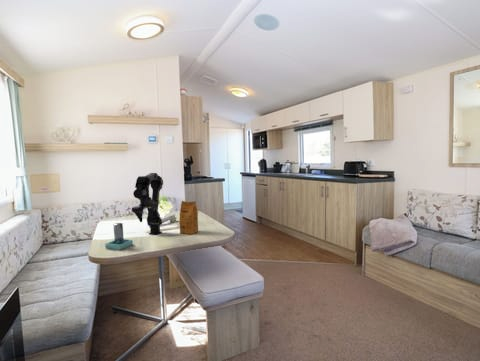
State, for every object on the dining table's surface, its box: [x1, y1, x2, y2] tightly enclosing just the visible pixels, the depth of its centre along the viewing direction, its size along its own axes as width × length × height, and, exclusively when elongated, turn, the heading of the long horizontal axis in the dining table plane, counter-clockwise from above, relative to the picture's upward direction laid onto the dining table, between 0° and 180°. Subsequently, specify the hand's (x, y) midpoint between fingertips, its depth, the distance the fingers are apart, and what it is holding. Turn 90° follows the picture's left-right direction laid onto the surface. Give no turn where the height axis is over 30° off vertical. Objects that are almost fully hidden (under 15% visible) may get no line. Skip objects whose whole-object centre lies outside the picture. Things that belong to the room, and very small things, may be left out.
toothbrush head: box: [148, 213, 177, 228], centre depth 221 cm, size 5×7×25 cm
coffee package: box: [179, 200, 199, 235], centre depth 195 cm, size 10×12×22 cm
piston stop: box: [112, 222, 125, 245], centre depth 168 cm, size 5×5×13 cm
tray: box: [104, 238, 134, 251], centre depth 169 cm, size 11×11×3 cm
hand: (146, 220), depth 179 cm, fingers open, 9 cm apart
